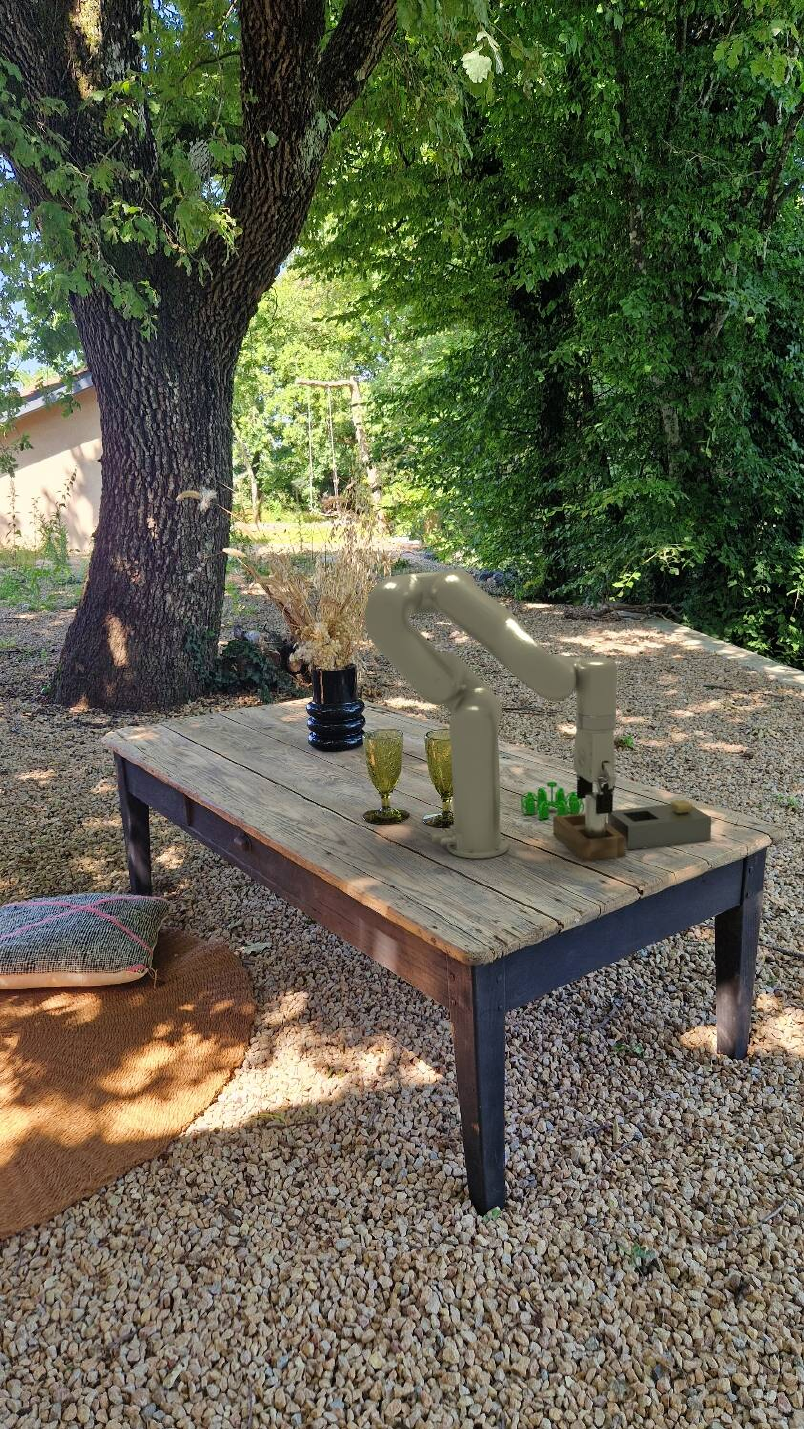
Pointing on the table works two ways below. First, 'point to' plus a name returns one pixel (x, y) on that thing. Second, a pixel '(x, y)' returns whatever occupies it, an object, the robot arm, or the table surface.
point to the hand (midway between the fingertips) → (594, 805)
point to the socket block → (660, 826)
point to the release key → (681, 806)
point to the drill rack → (574, 839)
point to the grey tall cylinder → (593, 818)
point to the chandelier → (551, 802)
